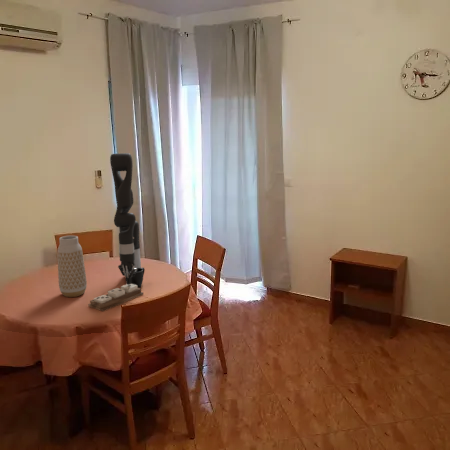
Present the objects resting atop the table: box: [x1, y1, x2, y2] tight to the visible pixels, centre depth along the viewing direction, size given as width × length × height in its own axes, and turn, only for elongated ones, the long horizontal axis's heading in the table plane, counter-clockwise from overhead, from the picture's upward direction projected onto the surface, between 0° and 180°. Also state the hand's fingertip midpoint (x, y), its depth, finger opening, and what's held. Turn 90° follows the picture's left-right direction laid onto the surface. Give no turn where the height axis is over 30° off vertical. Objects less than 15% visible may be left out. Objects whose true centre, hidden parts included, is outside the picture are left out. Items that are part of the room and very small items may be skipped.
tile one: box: [120, 283, 138, 293], centre depth 219 cm, size 6×6×3 cm
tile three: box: [93, 294, 112, 304], centre depth 206 cm, size 6×6×3 cm
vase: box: [57, 235, 88, 298], centre depth 219 cm, size 14×14×31 cm
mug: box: [131, 266, 146, 289], centre depth 233 cm, size 8×12×10 cm
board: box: [88, 287, 144, 312], centre depth 213 cm, size 11×26×3 cm, turn 144°
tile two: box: [107, 287, 125, 298], centre depth 212 cm, size 6×6×3 cm
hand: (128, 284), depth 218 cm, fingers closed
